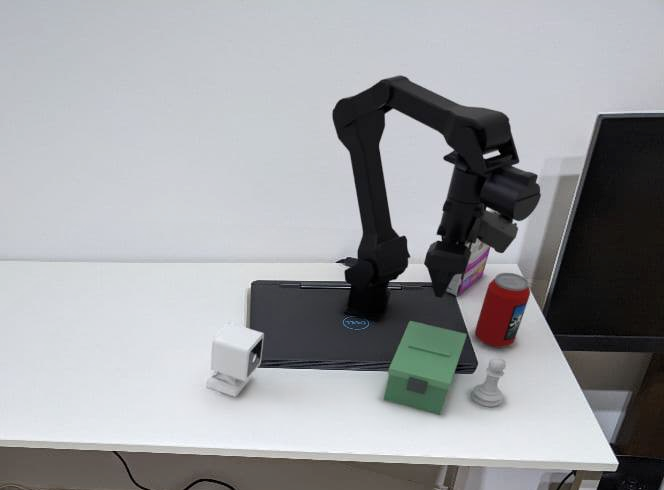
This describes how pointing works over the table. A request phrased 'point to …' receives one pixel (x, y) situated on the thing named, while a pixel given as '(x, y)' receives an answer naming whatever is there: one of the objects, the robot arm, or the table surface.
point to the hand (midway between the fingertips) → (444, 284)
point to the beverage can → (502, 310)
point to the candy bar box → (471, 267)
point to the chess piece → (490, 384)
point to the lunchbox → (424, 367)
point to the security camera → (234, 358)
